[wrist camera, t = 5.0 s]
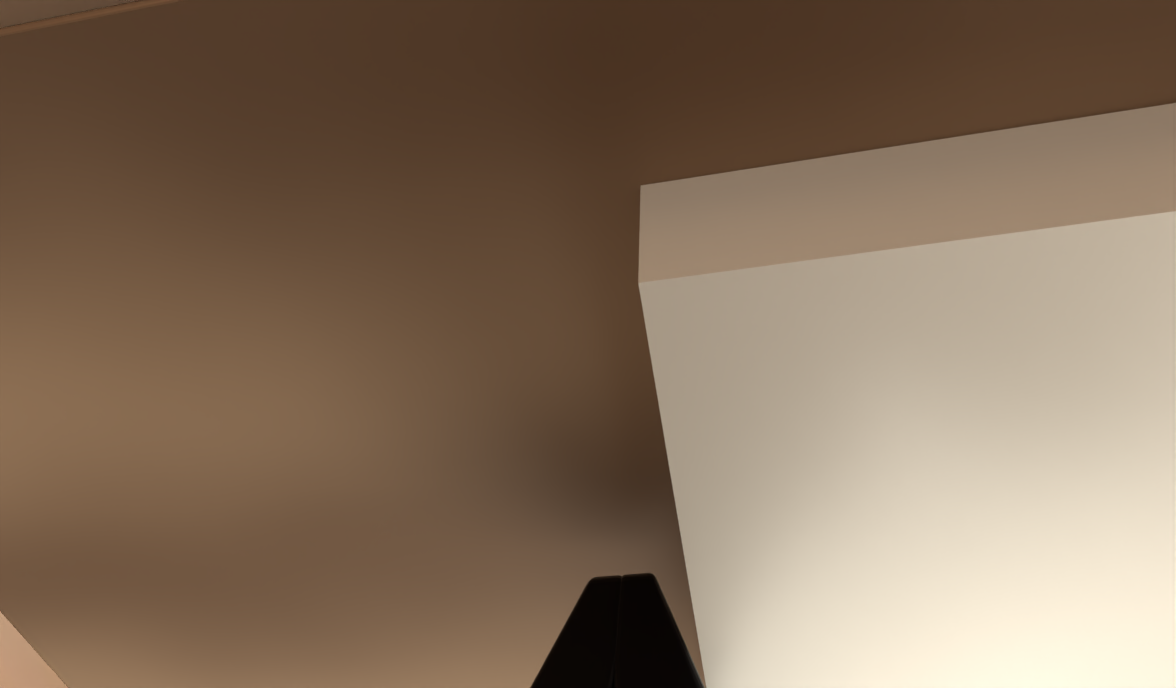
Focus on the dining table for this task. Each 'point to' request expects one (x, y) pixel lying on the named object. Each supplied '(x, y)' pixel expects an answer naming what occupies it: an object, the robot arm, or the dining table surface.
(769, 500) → the cream rectangular tile
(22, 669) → the dining table surface
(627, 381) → the brown wooden flat block
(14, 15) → the dining table surface
